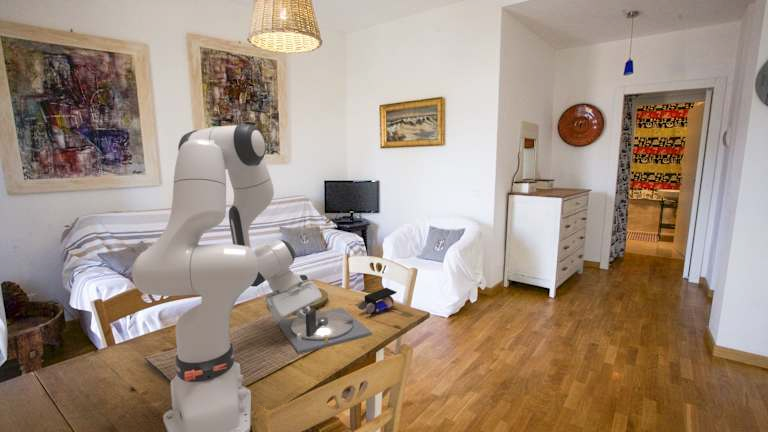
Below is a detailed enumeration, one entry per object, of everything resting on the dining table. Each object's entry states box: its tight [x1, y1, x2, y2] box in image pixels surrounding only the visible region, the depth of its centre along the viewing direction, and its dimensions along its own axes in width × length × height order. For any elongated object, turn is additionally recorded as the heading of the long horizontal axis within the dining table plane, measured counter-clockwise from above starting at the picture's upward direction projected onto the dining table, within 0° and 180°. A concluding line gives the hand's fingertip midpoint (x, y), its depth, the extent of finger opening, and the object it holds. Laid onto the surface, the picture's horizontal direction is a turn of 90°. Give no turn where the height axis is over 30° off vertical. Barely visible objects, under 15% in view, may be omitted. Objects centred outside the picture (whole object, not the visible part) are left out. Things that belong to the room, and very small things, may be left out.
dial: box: [291, 308, 353, 340], centre depth 128 cm, size 21×21×8 cm
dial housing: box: [276, 307, 373, 355], centre depth 129 cm, size 25×25×3 cm
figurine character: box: [357, 287, 397, 317], centre depth 144 cm, size 7×8×15 cm
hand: (309, 320), depth 122 cm, fingers closed
